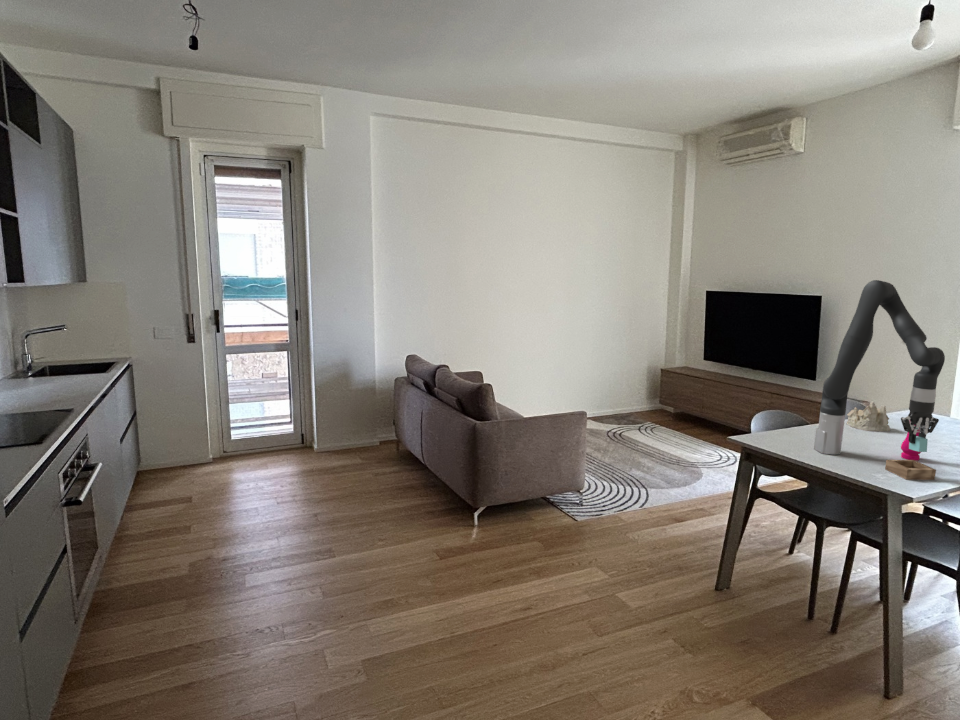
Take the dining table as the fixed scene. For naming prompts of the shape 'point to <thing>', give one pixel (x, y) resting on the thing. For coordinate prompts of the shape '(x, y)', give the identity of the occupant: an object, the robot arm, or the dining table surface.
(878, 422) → the cream rough lump
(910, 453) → the pepper mill
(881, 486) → the dining table surface
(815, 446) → the robot arm
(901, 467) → the wooden tray
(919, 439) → the teal block
